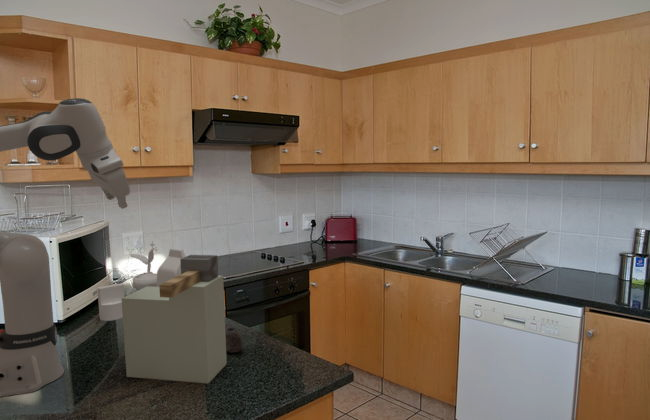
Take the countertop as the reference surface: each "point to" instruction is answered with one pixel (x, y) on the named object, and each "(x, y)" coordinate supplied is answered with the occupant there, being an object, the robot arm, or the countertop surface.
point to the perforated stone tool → (232, 339)
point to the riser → (175, 333)
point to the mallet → (191, 274)
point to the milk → (170, 266)
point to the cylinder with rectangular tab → (110, 302)
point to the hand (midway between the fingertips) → (117, 202)
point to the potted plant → (148, 277)
